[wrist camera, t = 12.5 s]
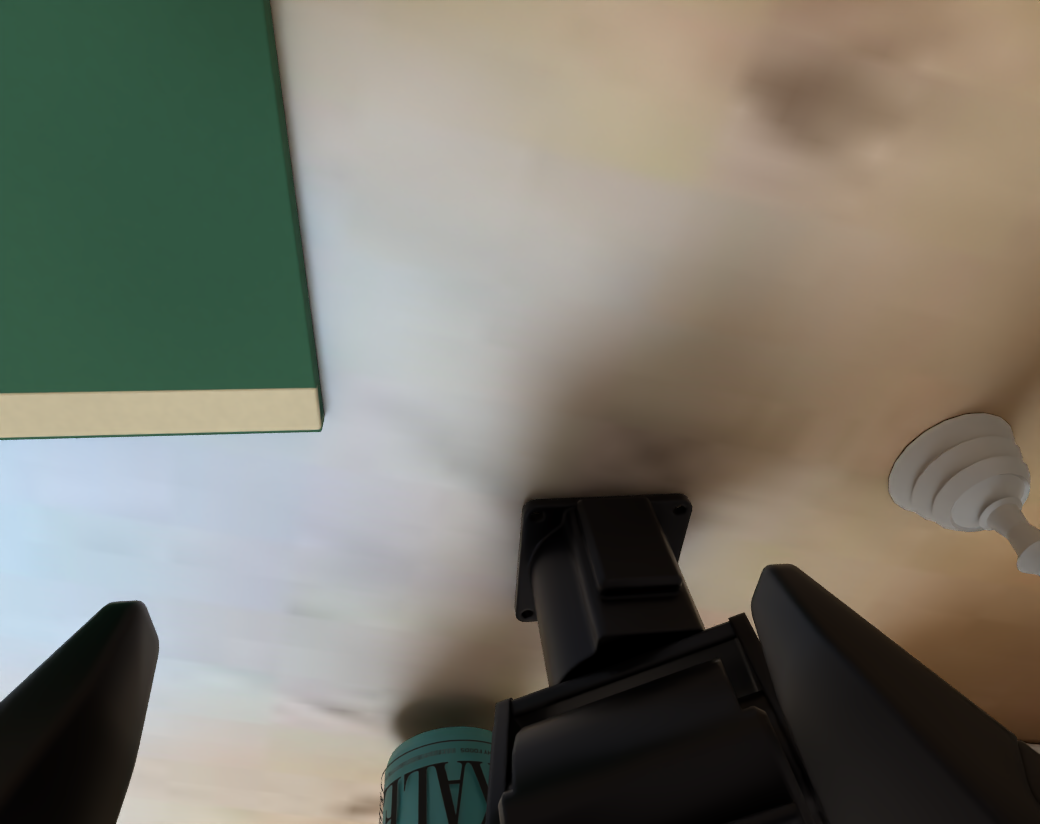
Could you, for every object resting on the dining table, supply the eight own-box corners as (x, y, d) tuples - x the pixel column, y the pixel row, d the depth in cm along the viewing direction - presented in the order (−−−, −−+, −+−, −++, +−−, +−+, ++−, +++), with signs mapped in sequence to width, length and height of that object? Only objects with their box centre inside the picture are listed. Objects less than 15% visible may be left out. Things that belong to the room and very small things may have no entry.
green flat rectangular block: (324, 418, 22) (321, 433, 21) (-83, 427, 20) (-101, 444, 20) (189, -613, 11) (173, -651, 10) (-749, -774, 9) (-845, -833, 8)
